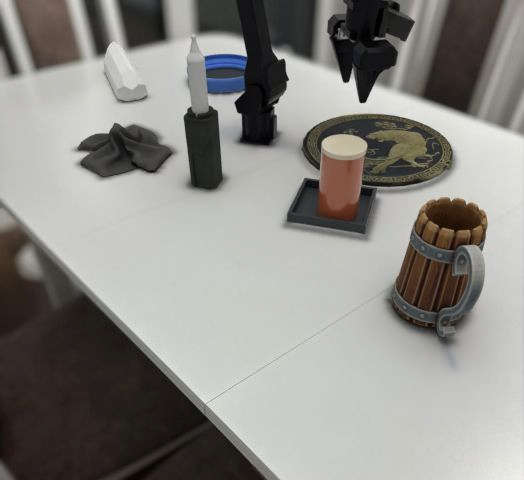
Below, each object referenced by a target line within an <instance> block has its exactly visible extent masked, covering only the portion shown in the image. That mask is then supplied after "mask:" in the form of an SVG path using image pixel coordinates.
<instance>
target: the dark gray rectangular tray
mask: <svg viewBox="0 0 524 480" xmlns="http://www.w3.org/2000/svg"><path fill="white" fill-rule="evenodd" d="M318 190H319V178H318V179H317V178H310V177H304V178H303V181H302V182H301V184H300V186H299V188H298V190H297V192H296V195H295V196H294V199H293V200H292V202H291V204H290V207H289V208H288V211H287V213H286V221H287V222H289V223H297V224H301V225H308V226H314V227H320V228H327V229H333V230H340V231H345V232H352V233H357V234H366V231H367V227H368V224H369V222H370V221H369V220H370V217H371V214H372V209H373V207H374V203H375V200H376V197H377V193H378V187H374V186H366V185H362V186H361V194H360V201H359V208H358V214H357V216H356V218H355V219H353V220H352V221H345V220H339V219H333V218H326V217H320V216H319V215H318V213H317V203H318Z"/></svg>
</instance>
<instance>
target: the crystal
mask: <svg viewBox="0 0 524 480" xmlns="http://www.w3.org/2000/svg"><path fill="white" fill-rule="evenodd" d="M103 70H104V71H103V72H104V73H105V75H106V77H107V79H108V82H109V85H110V86H111V89H112V91H113V93H114V95H115V97H116V99H117V100H122V101H125V102H132V101H138V100H139V101H140V100H142V99H143V98H145V97H146V96H147V95H148V94H149V92H148V90H147V85H146V84H145V83H144V81H143V79H142V77H141V76H140V74H139V72H138V70H137V69H136V67H135V64H134V63H133V62H132V59H131V58H130V56H129V55H128V53H127V52H126V51H125V50H124V48H123V47H122V46H121V45H119V44H118V43H117V42H115V41H112V42H110V44H109V45H108V47H107V49H106V51H105V55H104V59H103Z"/></svg>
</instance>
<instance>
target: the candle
mask: <svg viewBox="0 0 524 480" xmlns="http://www.w3.org/2000/svg"><path fill="white" fill-rule="evenodd" d="M190 39H191V41H190V48H189V52H188V53H187V56H186V70H187V69H188V74H187V79H188V87H189V96H190V105H191V106H189V107H188V108H187V109H186V113H185V114H184V115H183V125H184V133H185V143H186V150H187V158H188V166H189V176H190V183H191V186H192V187H195V188H197V187H198V188H203V189H207V190H214V189H217V188H218V186H219V185H220V184H221V182H222V181H223V179H224V178H223V176H224V175H223V163H222V151H221V150H222V149H221V137H220V135H221V133H220V121H219V111H218V110H217V109H215V108H214V107H213V106H212V105H210V103H209V94H208V91H207V80H206V68H205V58H204V56H205V55H204V54H203V53H202V52H201V50H200V48H199V44H198V42H197V35H196V34H195V33H192V34H191V36H190Z"/></svg>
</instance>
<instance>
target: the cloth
mask: <svg viewBox="0 0 524 480" xmlns="http://www.w3.org/2000/svg"><path fill="white" fill-rule="evenodd" d="M77 150H79V151H81V150H88V151H92V152H90V153H89V154H87V155H85V156H84V157H83V158H82V159H81V160H80V161H79V164H81V165H83V166H86V167H87V168H89V169H90V170H92V171H94V172H96V173H97V174H98V175H100V176H101V177H109V176H114V175H120V174H124V173H128V172H131V171H133V170H135V169H138V168H142V169H144V170H146V171H149V172H150V171H156V170H157V168H158V167H159V166H160V165H161V164H162V163H163V161H164V160H166V158H167V157H168V156H170V155H171V154H172V153H173V150H172V149H171V148H170V147H168V146H167V145H164V144H161V143H159V141H158V135H157V134H156V133H154V132H153V131H151V130H149V129H147V128H144V127H142V126H138V125H137V124H131V125H129V126H127V127H124V126H123V125H121V124H120V123H118V122H114V123H113V125H112V126H111V128H110V129H109V131H108V132H105V133H104V132H99V133H94V134H91V135H89V136H87V137H86V138H85V139H83V140H81V141H80V143H79V145H78V146H77Z"/></svg>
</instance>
